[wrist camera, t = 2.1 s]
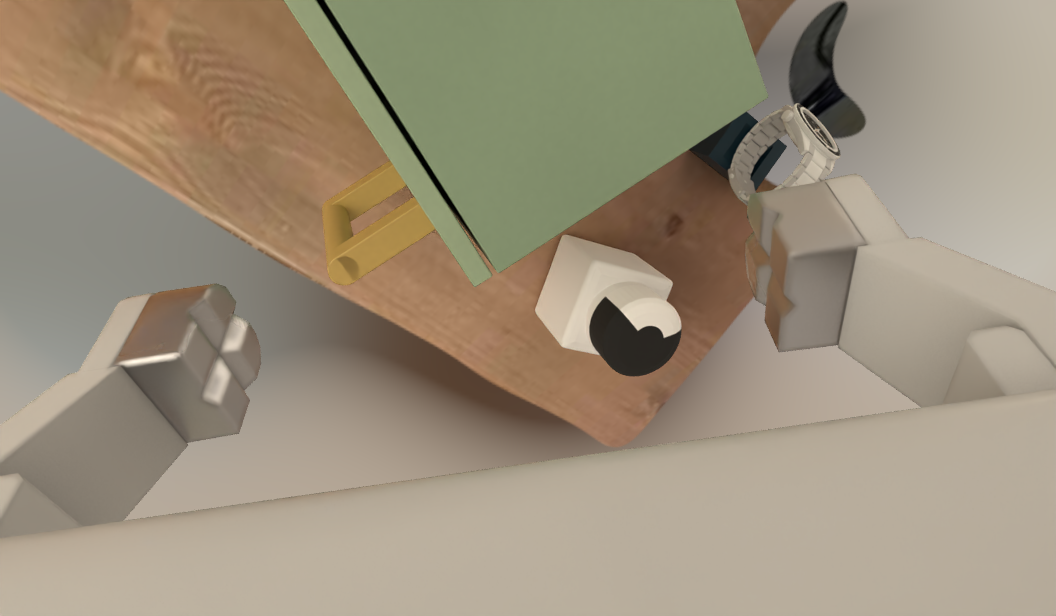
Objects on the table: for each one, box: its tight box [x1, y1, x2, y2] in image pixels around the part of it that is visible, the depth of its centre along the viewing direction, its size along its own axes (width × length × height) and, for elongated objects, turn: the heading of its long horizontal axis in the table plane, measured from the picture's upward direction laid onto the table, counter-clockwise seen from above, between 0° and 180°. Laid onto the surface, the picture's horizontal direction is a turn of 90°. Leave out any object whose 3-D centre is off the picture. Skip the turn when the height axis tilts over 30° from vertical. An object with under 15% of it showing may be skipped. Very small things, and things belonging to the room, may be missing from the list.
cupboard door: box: [284, 0, 492, 287], centre depth 36 cm, size 7×22×22 cm, turn 29°
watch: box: [689, 104, 841, 206], centre depth 52 cm, size 6×8×11 cm
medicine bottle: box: [535, 235, 682, 376], centre depth 53 cm, size 7×7×12 cm
